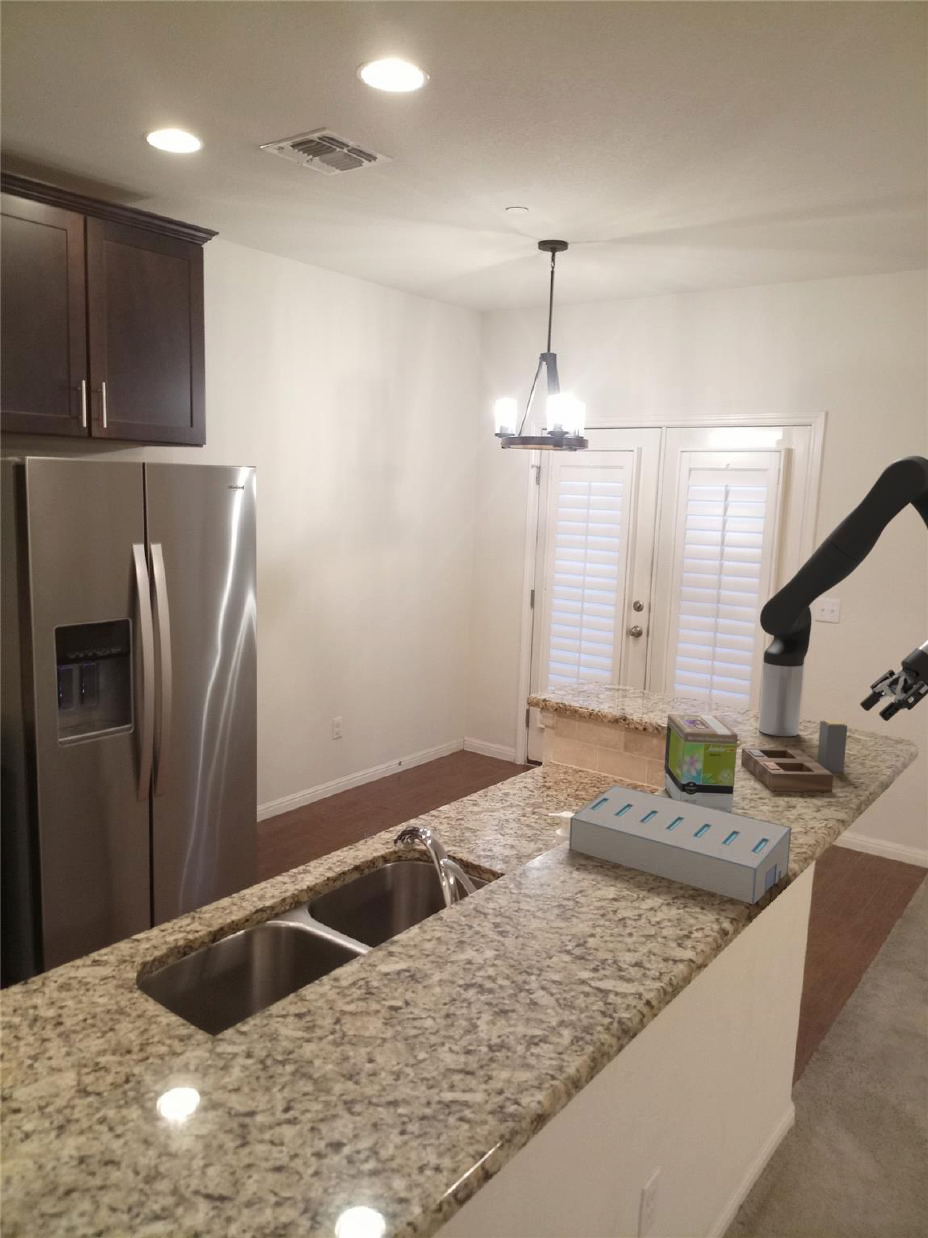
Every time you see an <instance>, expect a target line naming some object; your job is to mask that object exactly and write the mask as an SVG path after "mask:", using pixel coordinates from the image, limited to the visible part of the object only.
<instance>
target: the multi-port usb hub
mask: <svg viewBox="0 0 928 1238" xmlns="http://www.w3.org/2000/svg"><path fill="white" fill-rule="evenodd" d="M569 822H570V823H569V824H570V825H569V826H570V829H569V848H568V849H569V850H570V851H575V852H579V853H581V854H585V855H589V856H592V857H595V858H598V859H602V860H605V861H608V862H611V863H615V864H618V865H621V866H625V867H628V868H631V869H635V870H638V871H641V872H645V873H647V874H652V875H655V876H657V877H661V878H665V879H666V880H667V879H668V880H671V881H675V882H678V883H681V884H683V885H688V886H692V887H694V888H698V889H702V890H705V891H706V892H707V891H708V892H711V893H714V894H718V895H721V896H724V897H727V898H730V899H734V900H737V901H741V902H744V903H747V904H751V905H755V904H756V903H757V902H758V901H759V900H760V899H761V898H762V897H763V896H764V895H765V894H766V892H767V891H768V890H769V889H770V888H771V887H772V886H773V885H776V884H777V883H778V882H779V880H781V879H783V878H784V876H785V875H787V873H789V861H790V850H791V849H790V848H791V836H792V826H789V825H783V824H779V823H775V822H771V821H767V820H764V819H758V818H755V817H751V816H747V815H741V814H739V813H734V812H726V811H722V810H718V809H714V808H710V807H705V806H701V805H697V804H693V803H689V802H685V801H681V800H676V799H673V798H672V797H668V796H664V795H660V794H655V793H651V792H647V791H642V790H638V789H635V788H630V787H626V786H621V785H618V784H613V785H612V786H611V787H610V788H608V789H607V790H605V791H604V792H603V793H602V794H601V795H599V796H598V797H597V798H595V799H593V800H592V801H591V802H589V803H588V804H587V805H586V806H584V807H582V808H581V809H580V810H579V811H577V812H576V813H575V814H573V815H572V816H571V817H570V821H569Z"/></svg>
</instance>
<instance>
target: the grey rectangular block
mask: <svg viewBox="0 0 928 1238" xmlns="http://www.w3.org/2000/svg"><path fill="white" fill-rule="evenodd" d="M819 722H820V723H819V735H818V746H817V747H818V748H817V761H816V762H817V763H818V764H820V765H821V766H822V767H824V768H825V769H826V770H828V771H829V772H831V773H844V772H845V770H844V769H845V758H846V749H847V748H846V746H847V745H846V744H847V735H848V734H847V733H848V725H846V724H845V723H844V722H842V721H840V720H837V719H836V720H835V719H822V720H820V721H819Z"/></svg>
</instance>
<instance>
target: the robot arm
mask: <svg viewBox="0 0 928 1238" xmlns="http://www.w3.org/2000/svg"><path fill="white" fill-rule="evenodd" d="M909 504H911V505H912V506H913V508H914V509H915V510H916V511H917V513H918V514H919V516H920V517H921V519H922V520H923V522H924V523H923V524H924V525H925V526H926V529H927V530H928V458H926V457H924V456H921V455H910V456H909V455H908V456H904V457H901V458H898V459H895V460H894V461H892V462H890V463H889V464H888V465H887V466H886V467H885V469H883V471H882V472H881V474H880V475H879V477H878V478H877V480H876V481H875V483H874V484H873V486H872V487H871V488H870V490H869V492H868V493H867V494H866V495H865V496H864V498H863V499H862V500H861V501H860V503H859V504H858V505H857V506H856V507H855V508H854V509H853V510H852V511H851V512H850V513H848V515H847V516H846V517H845V518H844V519H842V521H840V523H839V524H838V525H836V527H835V528H834V529H833V530H832V531H831V533H829V535H828V536H827V537H826V538H825V539H824V540H823V542H822V543H821V544H820V545H819V546H818V548H817V549H816V550H815V551H814V553H813V554H812V555H811V556H810V557H809V558H808V559H807V561H806V562H804V564H803V565H802V567H801V568H799V570H798V571H797V573H796V574H795V575H794V576H793V577H792V578H791V579H790V580H789V582H788V583H786V584H785V585H784V586H783V587H782V588H781V589H780V590H779V591H778V592H777V593H775V595H773V596H772V597H771V598H770V599H769V600H768V601H767V602H766V603H765V604H764V606H763V607H762V609H761V612H760V617H759V622H760V626H761V629H762V630H763V631H764V632H765V633H766V634H768V635H770V636H773V640H772V642H771V643H770V644H769V645H768V647H767V648H766V649H765V651H764V653H763V662H762V663H763V664H762V676H761V677H762V679H761V692H760V693H761V694H760V708H759V720H758V721H759V722H758V731H759V732H760V733H763V734H765V735H770V736H775V737H795V736H798V735H799V731H800V730H799V729H800V719H801V718H800V717H801V716H800V715H801V706H802V705H801V704H802V691H803V680H804V679H803V678H804V663H805V658H806V655H807V653H808V651H809V647H810V646H809V645H810V639H811V631H812V622H813V621H812V611H811V608H810V605H811V604H812V603H813V602H814V601H815V600H816V599H818V598H819V597H820V596H823V594H825V593H826V592H827V591H829V590H831V589H833V588H834V587H836V586H837V585H838V584H840V583H841V582H842V581H844V580H845V579H847V578H848V576H850V574H852V573H853V572H854V571H855V570H856V569H857V568H858V567H859V566H860V564H861V563H862V562H864V561H865V559H866V558H867V557H868V555H870V553H871V552H872V550H873V549H874V547H875V545H876V543H877V542H878V540H879V539H880V537H881V535H882V533H883V531H884V530H885V529H886V527H887V526H888V525H889V523H890V522H891V521H892V520H893V519H894V518H895V517H896V516H897V515H898V514H899V513H900V512H901V511H903V510H904V509H905V508H906V507H907V506H908V505H909ZM900 665H901V668H902V670H900V671H899V672H895V671H894V670H893V669H889V670H888V671H886V672H885V673H884V674H882V676H881V677H879V678H878V679H877V680H876V681H875V682H873V683H872V684H871V685H870V686H869V687H870V689H871V693H870V694H868V696H867V697H865V698H864V699H863V700H862V701H861V702H860V703H859V704H860V707H861V708H863V710H864V711H866V712H869V711H870V710H871V709H872V708H874V707H875V705H877V704H878V703H879V702H880V701H881V700H882V699H883V700H884V699H885V698H887V697H890V698H891V697H894V699H893V701H891V702H890V703H888V704H887V705H886V706H884V707H883V709H881V710H880V712H878V716H880V718H881V719H882V720H884V721H885V722H888V721H890V719H892V718H893V717H894V716H895V715H896V714H897V713H899V712H900V710H901V711H903V710H905V709H907V710H908V711H910V710H912V709H913V708H914V707H915V706H916V705H917V704H918V703H920V702H921V701H922V700H923V699H924V698H925V697H926V696H927V695H928V638H927V639H925V640H924V641H922V642H921V644H919V645H918V646H917V647H916V648H914V650H913V651H911V652H910V653H909V654H908V655H907V656H906V657H905V658H904V659H902V661H901V662H900Z"/></svg>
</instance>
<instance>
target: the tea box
mask: <svg viewBox="0 0 928 1238" xmlns="http://www.w3.org/2000/svg"><path fill="white" fill-rule="evenodd" d="M738 739H739V737H738V734H737V732H736V731H735V730H734V729H732V728H731V727H730V726H729V725H728V724H727V723H725V722H724V721H723V720H722V719H720V717H718V716H717V715H705V714H704V715H703V714H701V715H700V714H699V715H698V714H678V713H677V714H674V713H673V714H671V713H668V714H667V724H666V738H665V755H664V770H663V787H664V788H665V789H666V790H667V792H668V794H669V795H670V796H671V797H670V798H672V799H676V800H681V801H685V802H689V803H693V804H697V805H701V806H705V807H710V808H714V809H718V810H722V811H726V812H730V813H732V810H733V801H734V787H735V776H736V763H737V752H738Z"/></svg>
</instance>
